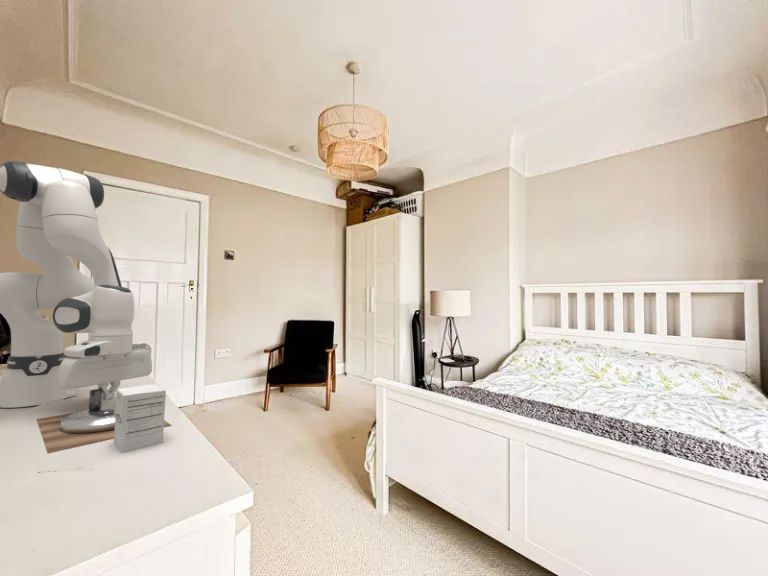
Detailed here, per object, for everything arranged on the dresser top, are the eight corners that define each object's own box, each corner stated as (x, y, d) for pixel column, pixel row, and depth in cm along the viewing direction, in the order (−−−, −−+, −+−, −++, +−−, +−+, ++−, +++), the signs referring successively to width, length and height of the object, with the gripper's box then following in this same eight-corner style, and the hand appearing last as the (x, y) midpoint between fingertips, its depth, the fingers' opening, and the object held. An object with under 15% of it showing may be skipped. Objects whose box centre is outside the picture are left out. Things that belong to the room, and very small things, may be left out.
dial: (163, 419, 83) (165, 393, 83) (81, 441, 69) (83, 409, 69) (128, 406, 92) (129, 383, 93) (49, 423, 78) (51, 395, 79)
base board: (35, 425, 82) (36, 418, 82) (138, 407, 98) (139, 401, 98) (47, 461, 64) (47, 452, 64) (171, 431, 80) (171, 424, 80)
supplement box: (112, 449, 69) (116, 388, 70) (154, 440, 75) (157, 383, 76) (118, 461, 64) (123, 395, 65) (163, 450, 70) (167, 389, 71)
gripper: (144, 342, 99) (141, 389, 98) (55, 349, 80) (51, 408, 79) (158, 343, 97) (156, 391, 96) (71, 351, 78) (66, 411, 77)
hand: (108, 399), depth 87 cm, fingers closed
